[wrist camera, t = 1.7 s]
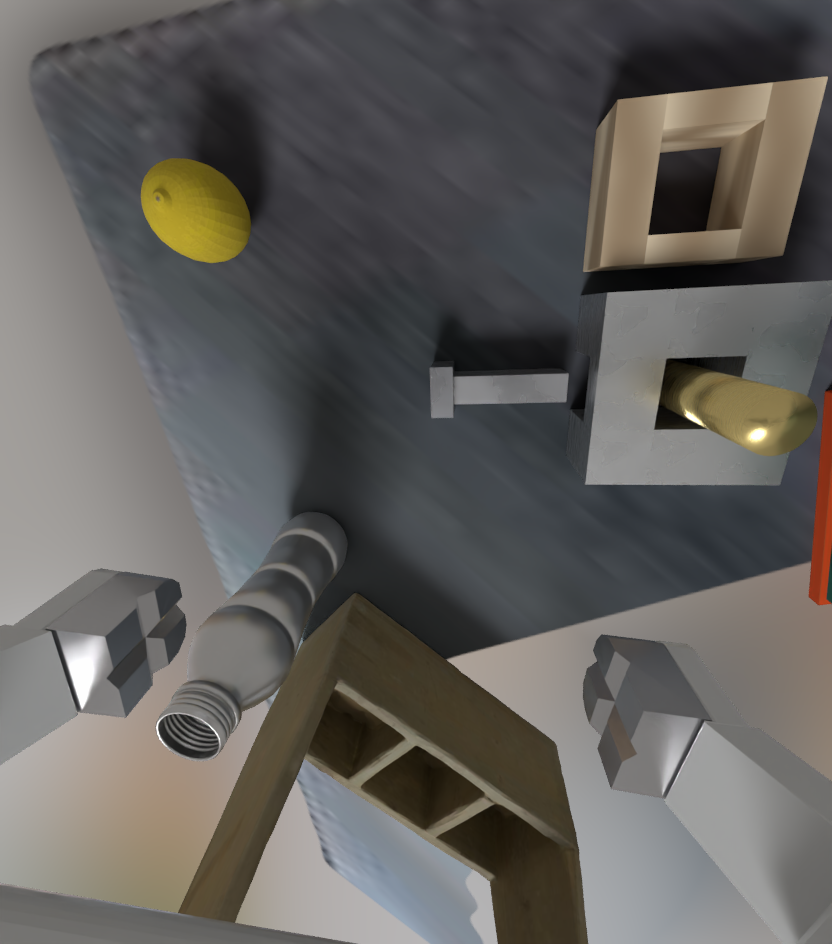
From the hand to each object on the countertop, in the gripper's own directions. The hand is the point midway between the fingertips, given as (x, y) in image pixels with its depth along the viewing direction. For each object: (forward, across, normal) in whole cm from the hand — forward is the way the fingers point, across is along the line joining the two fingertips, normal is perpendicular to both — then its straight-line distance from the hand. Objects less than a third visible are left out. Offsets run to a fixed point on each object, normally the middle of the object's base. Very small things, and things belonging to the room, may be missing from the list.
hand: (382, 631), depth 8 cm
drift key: (+26, -5, -1) cm, 27 cm away
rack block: (+26, -14, -14) cm, 32 cm away
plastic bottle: (+27, +10, +15) cm, 33 cm away
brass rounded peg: (+26, -16, -2) cm, 31 cm away
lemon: (+27, +16, -10) cm, 33 cm away
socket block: (+26, -16, -2) cm, 31 cm away
